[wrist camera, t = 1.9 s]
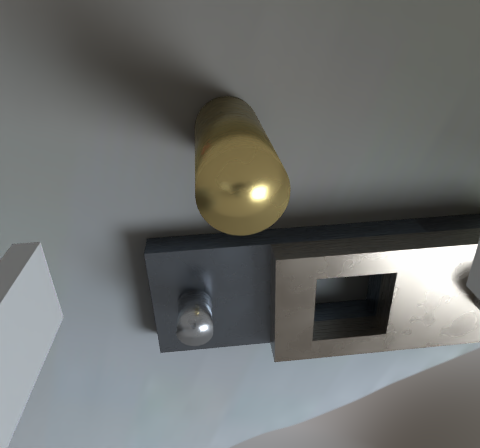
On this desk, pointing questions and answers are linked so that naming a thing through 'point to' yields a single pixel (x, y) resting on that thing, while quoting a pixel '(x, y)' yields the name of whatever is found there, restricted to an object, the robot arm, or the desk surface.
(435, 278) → the door bolt
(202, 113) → the brass pin
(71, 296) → the desk surface
